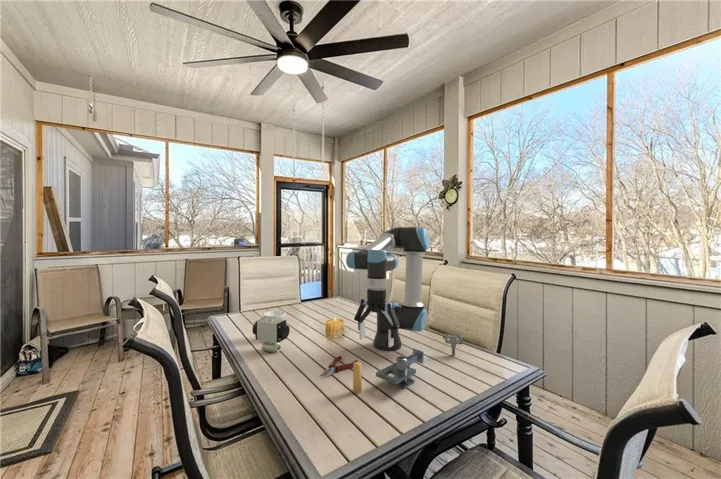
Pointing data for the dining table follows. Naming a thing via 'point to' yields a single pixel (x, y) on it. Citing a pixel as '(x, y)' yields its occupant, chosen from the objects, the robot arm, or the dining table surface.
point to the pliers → (337, 367)
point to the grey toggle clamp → (402, 369)
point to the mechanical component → (453, 341)
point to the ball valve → (271, 333)
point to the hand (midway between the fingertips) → (376, 342)
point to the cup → (275, 314)
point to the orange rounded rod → (357, 377)
